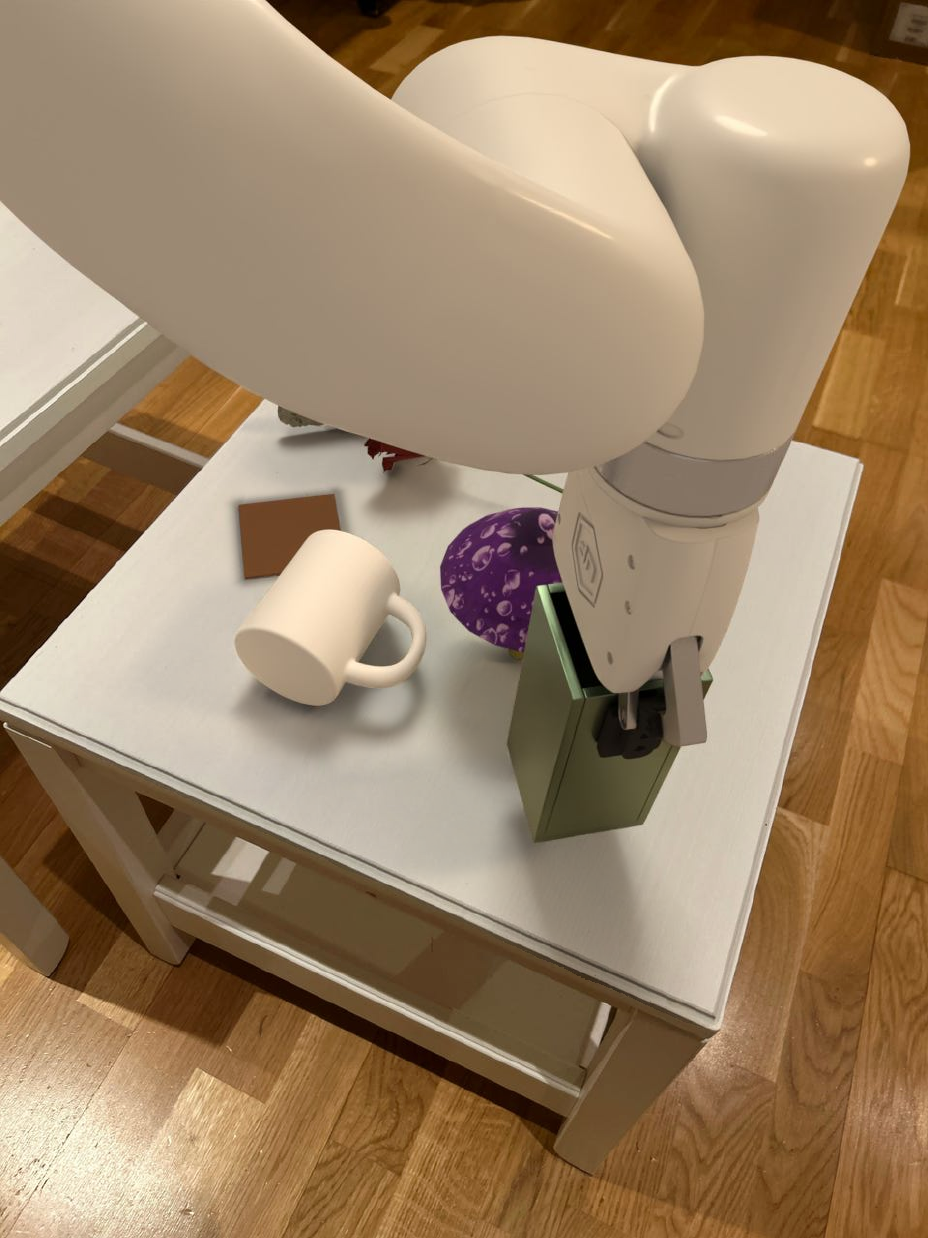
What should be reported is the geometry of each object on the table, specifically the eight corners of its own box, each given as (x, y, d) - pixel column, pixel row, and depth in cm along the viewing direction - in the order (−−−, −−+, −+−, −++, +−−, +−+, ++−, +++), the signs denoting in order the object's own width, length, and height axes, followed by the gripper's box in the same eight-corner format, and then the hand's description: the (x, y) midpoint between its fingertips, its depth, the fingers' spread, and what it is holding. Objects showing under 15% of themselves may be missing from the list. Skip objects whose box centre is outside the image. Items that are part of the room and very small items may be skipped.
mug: (242, 681, 67) (224, 613, 61) (310, 584, 73) (300, 513, 67) (391, 742, 65) (388, 679, 59) (450, 638, 71) (453, 569, 64)
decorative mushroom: (408, 686, 68) (406, 549, 56) (477, 568, 75) (489, 424, 63) (568, 752, 65) (603, 622, 53) (625, 622, 72) (666, 482, 60)
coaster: (244, 579, 73) (244, 577, 73) (238, 506, 78) (238, 504, 78) (346, 566, 74) (346, 564, 74) (334, 495, 79) (334, 493, 79)
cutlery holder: (533, 844, 56) (573, 700, 43) (506, 743, 60) (535, 585, 47) (643, 825, 57) (713, 679, 44) (609, 727, 61) (665, 569, 49)
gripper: (535, 304, 40) (499, 571, 54) (669, 621, 30) (581, 849, 44) (698, 292, 42) (621, 556, 56) (879, 593, 31) (729, 823, 45)
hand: (604, 684), depth 50 cm, fingers closed on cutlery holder, 7 cm apart
